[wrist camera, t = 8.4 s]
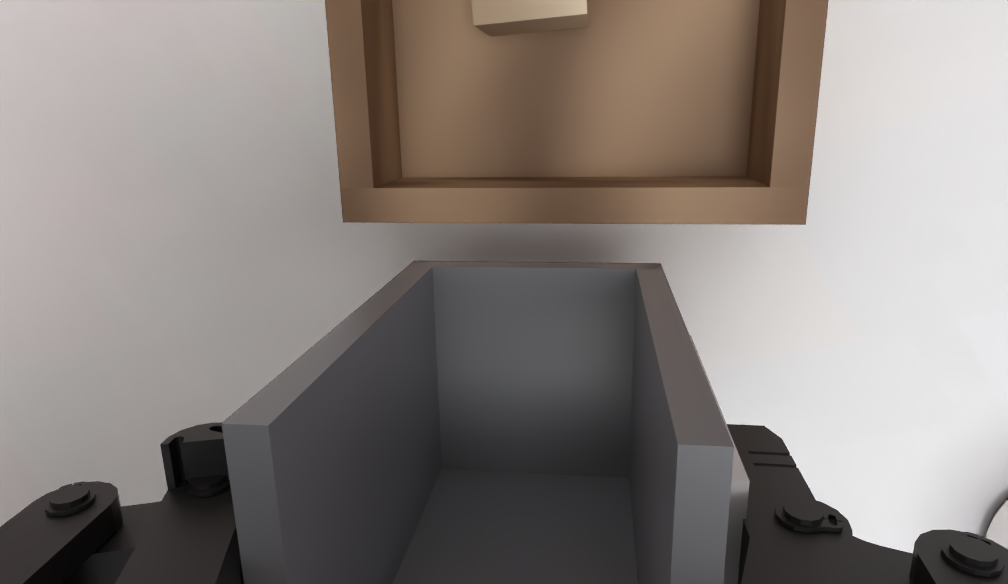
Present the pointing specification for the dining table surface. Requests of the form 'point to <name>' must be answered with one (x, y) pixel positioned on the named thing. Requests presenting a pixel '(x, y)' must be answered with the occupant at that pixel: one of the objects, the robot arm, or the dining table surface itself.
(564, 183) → the tray
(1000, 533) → the can
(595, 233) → the dining table surface
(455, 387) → the grey open box
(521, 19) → the cube
